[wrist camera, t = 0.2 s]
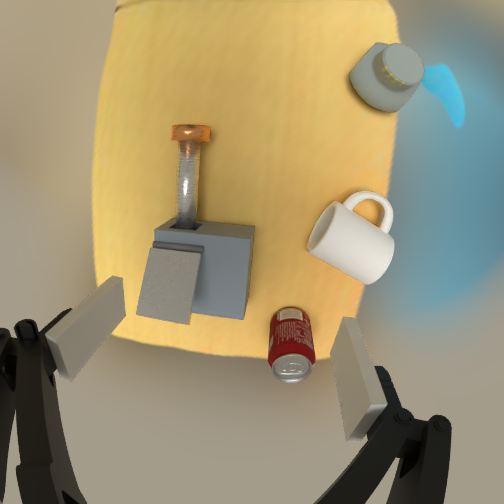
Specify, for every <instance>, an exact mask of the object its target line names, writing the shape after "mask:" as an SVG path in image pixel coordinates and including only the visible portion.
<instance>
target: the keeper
mask: <svg viewBox="0 0 504 504" xmlns="http://www.w3.org/2000/svg"><path fill="white" fill-rule="evenodd" d="M201 257H202V255H201V254H200V253H191V252H182V251H174V250H165V249H157V248H150V252H149V256H148V260H147V264H146V268H145V273H144V277H143V282H142V286H141V291H140V296H139V301H138V306H137V311H136V315H139V316H144V317H149V318H154V319H159V320H164V321H169V322H175V323H181V324H186V325H190V319H191V313H192V307H193V301H194V296H195V290H196V284H197V279H198V273H199V268H200V263H201Z"/></svg>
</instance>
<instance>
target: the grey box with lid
mask: <svg viewBox="0 0 504 504" xmlns="http://www.w3.org/2000/svg"><path fill="white" fill-rule="evenodd" d="M254 230H255V226H246V225H236V224H226V223H216V222H205V221H197V228H196V231H194V230H184V229H176V219H170V220H169V221H167V222H166V223H164V224H163V225H161V226H159V227H158V228H156V229H155V230H154V231H155V241H154V242H153V248H157V249H165V250H174V251H182V252H191V253H200V254H201V255H202V257H201V263H200V268H199V273H198V279H197V284H196V290H195V296H194V301H193V307H192V313H198V314H204V315H211V316H218V317H225V318H232V319H240V320H244V315H245V311H246V306H247V302H248V296H249V285H250V274H251V263H252V252H253V241H254Z"/></svg>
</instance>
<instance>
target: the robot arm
mask: <svg viewBox="0 0 504 504" xmlns="http://www.w3.org/2000/svg"><path fill="white" fill-rule="evenodd" d="M125 316H126V313H125V302H124V290H123V278H121V277H116V276H111V277H110V278H109V279H108V280H106V281H105V282H104V283H103V284H102V285H100V286H99V287H98V288H97V289H96V290H95V291H93V292H92V293H91V294H90V295H88V296H87V297H86V298H85V299H84V300H83V301H81V302H80V303H79V304H78V305H77V306H76V307H75V308H74V309H71V308H70V309H67V310H65V311H63V312H61V313H60V314H59V315H58V316H57V318H54V319H53V320H52V321H51V322H50V323H49V324H48V325H47V326H45V327H44V328H43V329H42V330H41V331H40V332H39V331H38V328H37V324H36V322H35V321H34V320H31V319H24V320H21V321H19V322H18V323H17V324H16V325H15V327H14V330H15V333H16V336H17V338H13V337H11V335H10V332H9V330H8V329H6V328H0V504H2V502H3V498H4V493H5V483H6V470H7V458H8V450H9V442H10V436H11V430H12V425H13V420H14V415H15V410H16V420H17V421H16V422H17V435H18V445H19V453H20V461H21V463H20V465H18V466H17V467H16V476H17V481H18V486H19V491H20V495H21V499H22V503H23V504H87V502H86V500H85V498H84V497H83V495H82V494H81V492H80V490H79V487H78V484H77V481H76V478H75V475H74V472H73V469H72V465H71V461H70V458H69V454H68V450H67V446H66V442H65V437H64V433H63V428H62V423H61V417H60V411H59V406H58V398H57V390H56V382H55V376H54V373H53V372H54V371H55V370H56V369H57V370H58V372H59V375H60V377H62V378H64V379H66V380H68V381H70V382H72V381H73V379H74V378H75V377H76V375H77V374H78V373H79V372H80V370H81V369H82V368H83V367H84V365H85V364H86V363H87V362H88V360H89V359H90V358H91V357H92V356H93V354H94V353H95V352H96V351H97V349H98V348H99V347H100V346H101V345H102V343H103V342H104V341H105V340H106V338H107V337H108V336H109V335H110V334H111V333H112V331H113V330H114V329H115V328H116V327H117V326H118V324H119V323H120V322H121V321H122V320H123V319H124V317H125ZM330 356H331V361H332V366H333V371H334V376H335V381H336V386H337V392H338V397H339V402H340V407H341V414H342V419H343V425H344V431H345V438H346V441H361V440H362V439H363V437H364V436H365V435H366V434H367V438H368V441H367V443H366V444H365V445H364V446H363V447H362V448H361V450H360V451H359V453H358V454H357V455H356V457H355V458H354V459H353V461H352V462H351V463H350V464H349V465H348V467H347V468H346V469H345V470H344V471H343V473H342V474H341V475H340V476H339V477H338V478H337V479H336V481H335V482H334V483H333V484H332V485H331V486H330V487H329V488H328V489H327V491H325V493H324V494H323V495H322V496H321V497H320V498H319V499H318V500H317V501H316V502H315V503H314V504H365V503H366V501H367V500H368V499H369V497H370V496H371V494H372V493H373V492H374V490H375V489H376V487H377V486H378V484H379V483H380V481H381V480H382V478H383V477H384V475H385V474H386V472H387V471H388V469H389V467H390V466H391V464H392V462H393V461H394V459H395V458H396V457H397V458H400V460H399V464H398V468H397V471H396V474H395V478H394V481H393V485H392V488H391V491H390V494H389V497H388V500H387V503H386V504H443V503H444V498H445V492H446V486H447V478H448V470H449V461H450V449H451V431H452V427H451V423H450V422H449V420H448V419H447V418H446V417H444V416H442V415H434V416H432V417H431V418H430V419H429V420H428V421H423V420H418V419H415V418H414V416H413V415H412V413H411V412H409V411H408V410H407V409H405V408H402V406H401V403H400V401H399V398H398V395H397V393H396V390H395V388H394V385H393V383H392V382H391V378H390V375H389V373H388V372H387V371H386V370H385V368H384V367H383V366H374V365H373V362H372V359H371V357H370V354H369V351H368V349H367V346H366V344H365V341H364V338H363V336H362V333H361V331H360V329H359V326H358V324H357V321H356V319H355V318H351V317H343V318H342V321H341V324H340V327H339V330H338V333H337V336H336V338H335V341H334V344H333V346H332V349H331V352H330Z"/></svg>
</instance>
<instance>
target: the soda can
mask: <svg viewBox="0 0 504 504" xmlns="http://www.w3.org/2000/svg"><path fill="white" fill-rule="evenodd" d="M314 364H315V351H314V344H313V338H312V331H311V325H310V320H309V317H308V316H307V314H306V313H305V312H303V311H302V310H299V309H296V308H286V309H282V310H280V311H278V312H277V313H276V314H275V315H274V316H273V317H272V319H271V323H270V336H269V351H268V365H269V367H270V369H271V370H272V373H273V375H274V377H275V378H276V379H278V380H279V381H282V382H285V383H296V382H300V381H303V380H304V379H306V378H307V377H308V376H309V375H310V373H311V371H312V368H313V366H314Z"/></svg>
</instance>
